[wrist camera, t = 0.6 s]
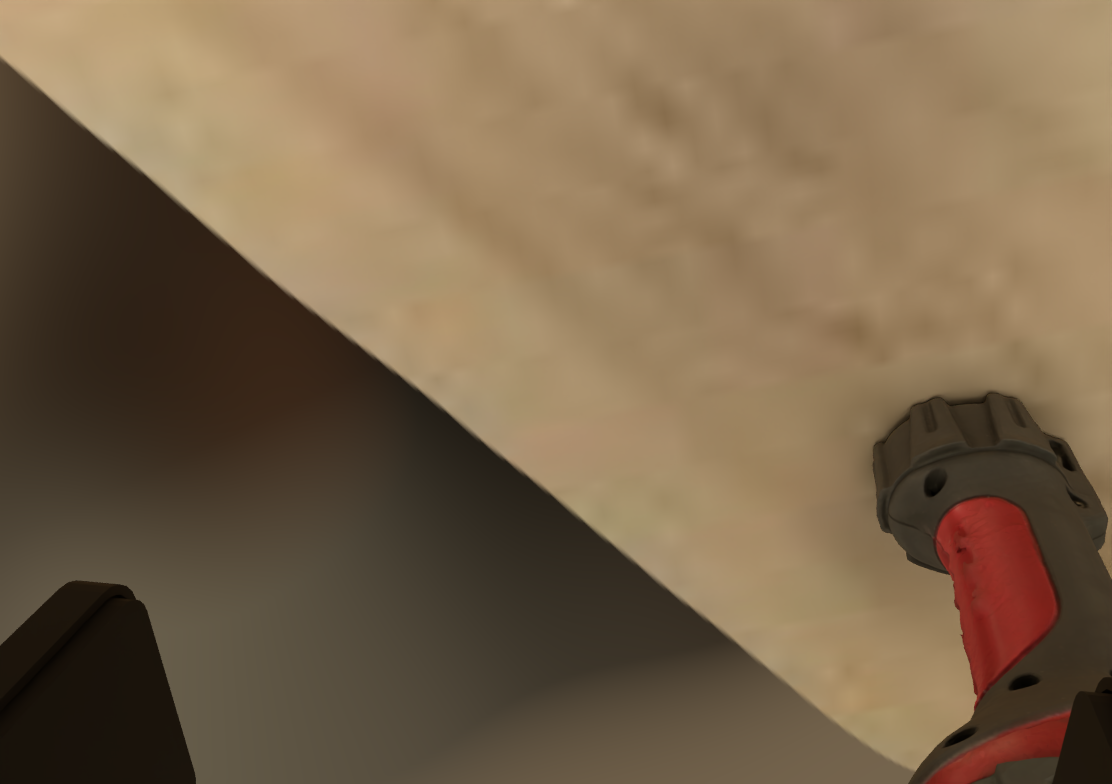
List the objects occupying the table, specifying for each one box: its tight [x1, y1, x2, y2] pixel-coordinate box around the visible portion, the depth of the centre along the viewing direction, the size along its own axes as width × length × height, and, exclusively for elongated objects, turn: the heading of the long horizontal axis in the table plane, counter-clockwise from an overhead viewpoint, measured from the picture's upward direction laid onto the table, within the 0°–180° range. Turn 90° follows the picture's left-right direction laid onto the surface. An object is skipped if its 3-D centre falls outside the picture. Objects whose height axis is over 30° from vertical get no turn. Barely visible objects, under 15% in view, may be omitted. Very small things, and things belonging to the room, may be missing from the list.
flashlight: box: [873, 393, 1112, 784], centre depth 28 cm, size 8×8×23 cm
